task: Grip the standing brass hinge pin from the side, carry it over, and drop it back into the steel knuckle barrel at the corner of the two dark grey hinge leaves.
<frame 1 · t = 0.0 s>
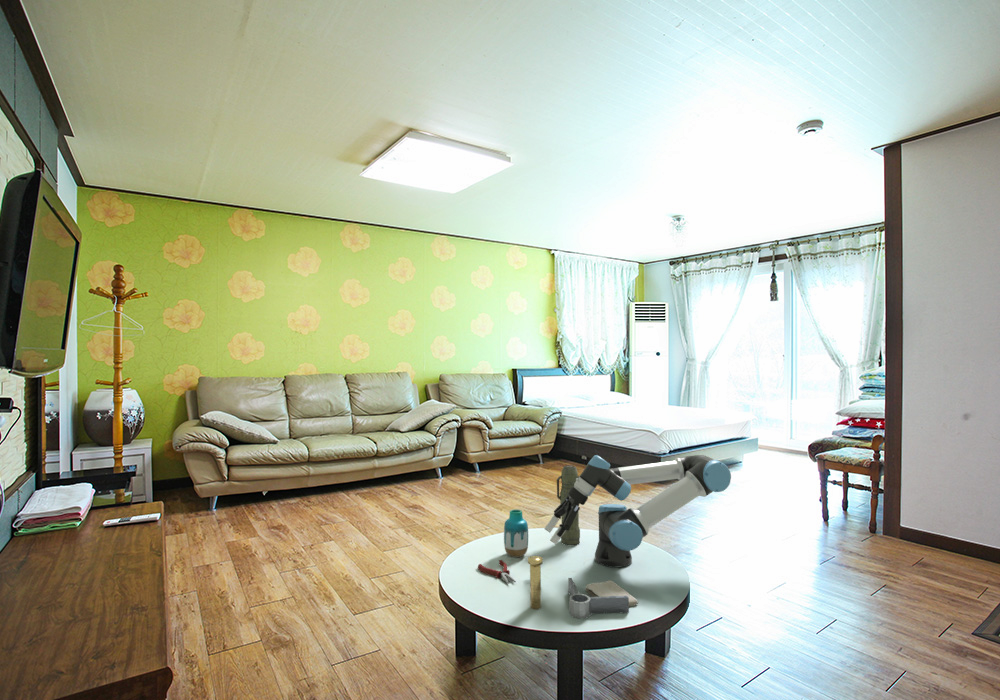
hand: (549, 536, 202), 15 cm above the table, tool tilted 35°, fingers open, 13 cm apart
hinge: (580, 613, 171), on the table
pliers: (495, 576, 203), on the table
vase: (516, 556, 223), on the table
thermos: (570, 542, 239), on the table
washcloth: (610, 599, 183), on the table
hinge pin: (535, 606, 176), on the table
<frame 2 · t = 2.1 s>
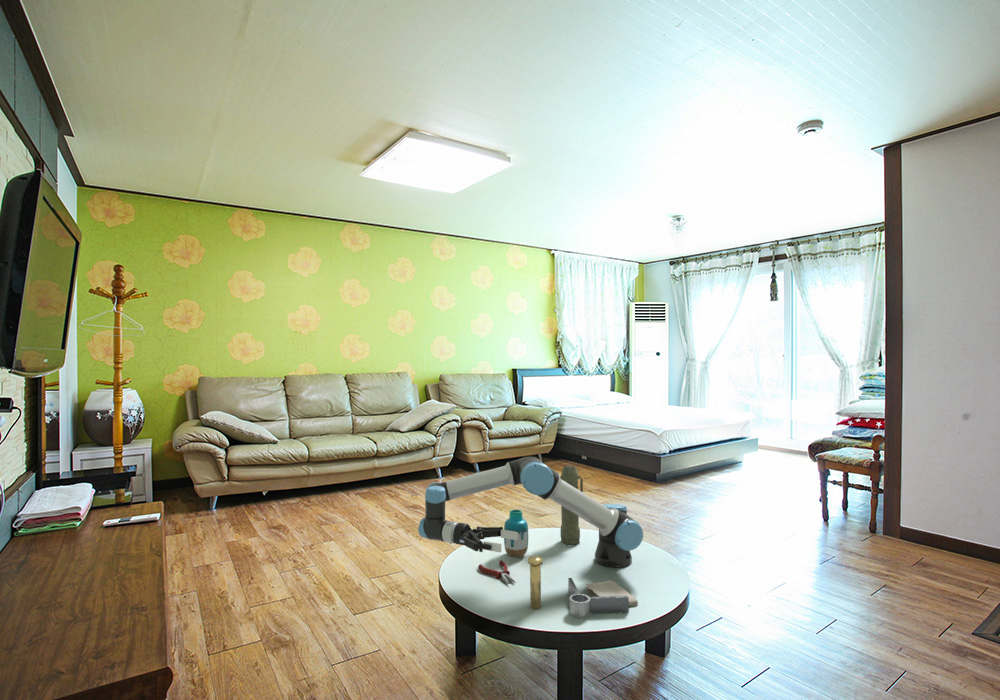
hand: (509, 542, 181), 20 cm above the table, tool horizontal, fingers open, 13 cm apart
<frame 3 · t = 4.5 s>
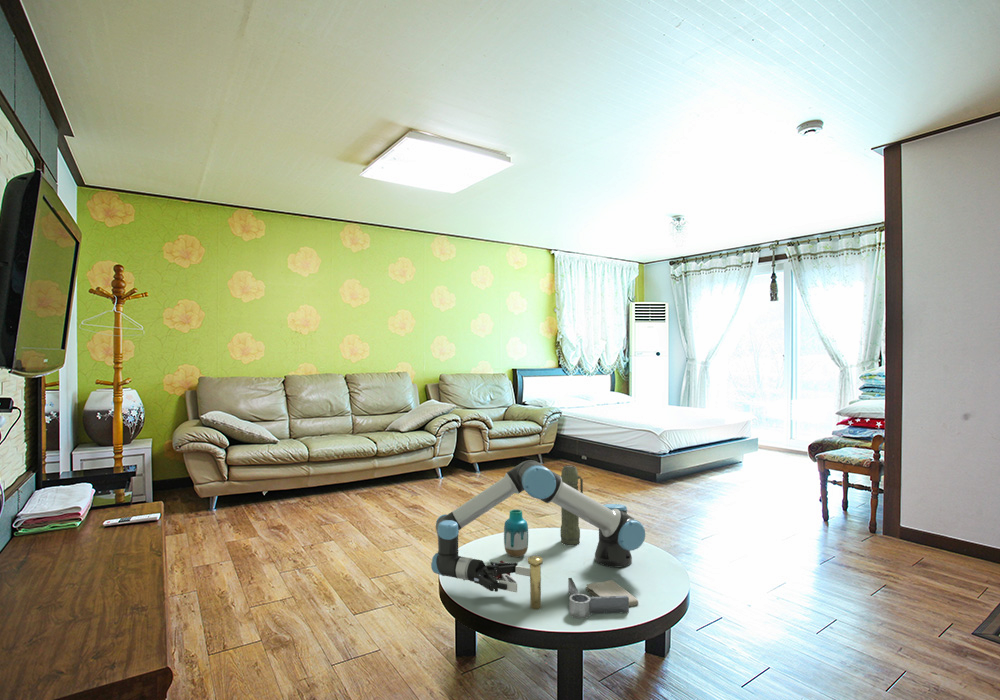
hand: (525, 580, 178), 9 cm above the table, tool horizontal, fingers open, 13 cm apart
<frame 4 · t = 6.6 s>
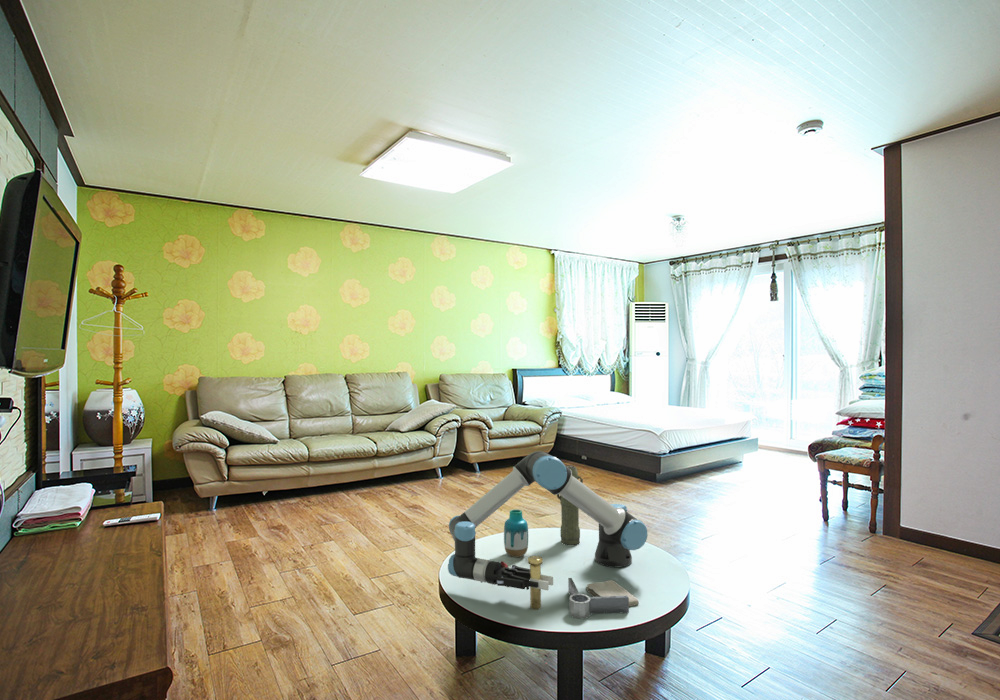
hand: (550, 583, 174), 9 cm above the table, tool horizontal, fingers closed on hinge pin, 3 cm apart
hinge pin: (535, 606, 176), on the table, touching gripper
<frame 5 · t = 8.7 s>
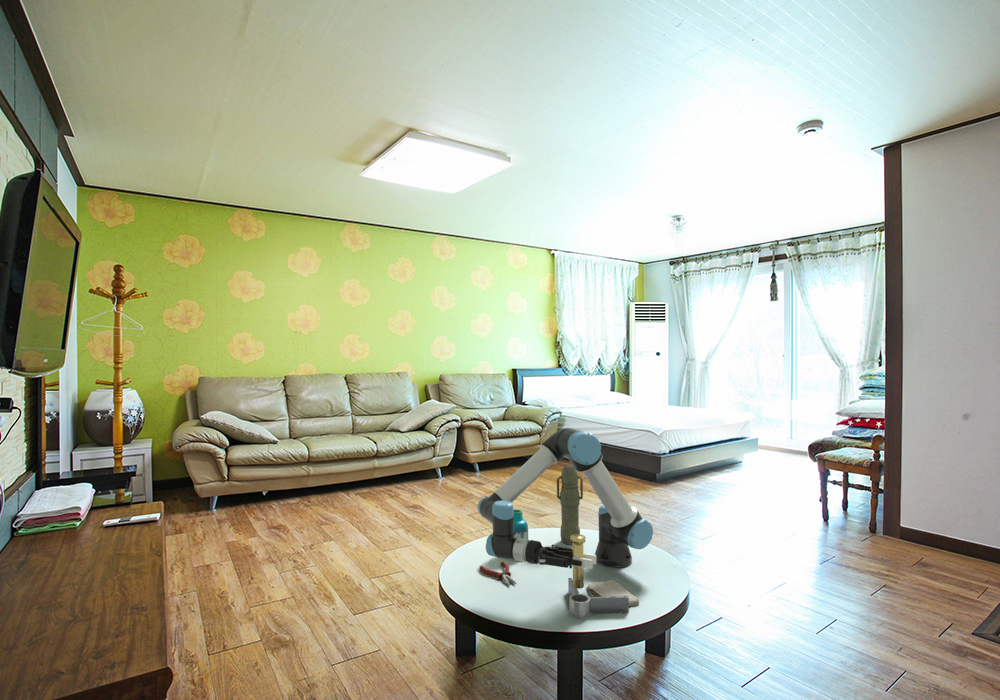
hand: (594, 562, 169), 18 cm above the table, tool horizontal, fingers closed on hinge pin, 3 cm apart
hinge pin: (578, 586, 172), point 9 cm above the table, touching gripper
when the fingers open (11 cm above the table, at t = 10.6 s): hinge pin drops 2 cm, resting in hinge.
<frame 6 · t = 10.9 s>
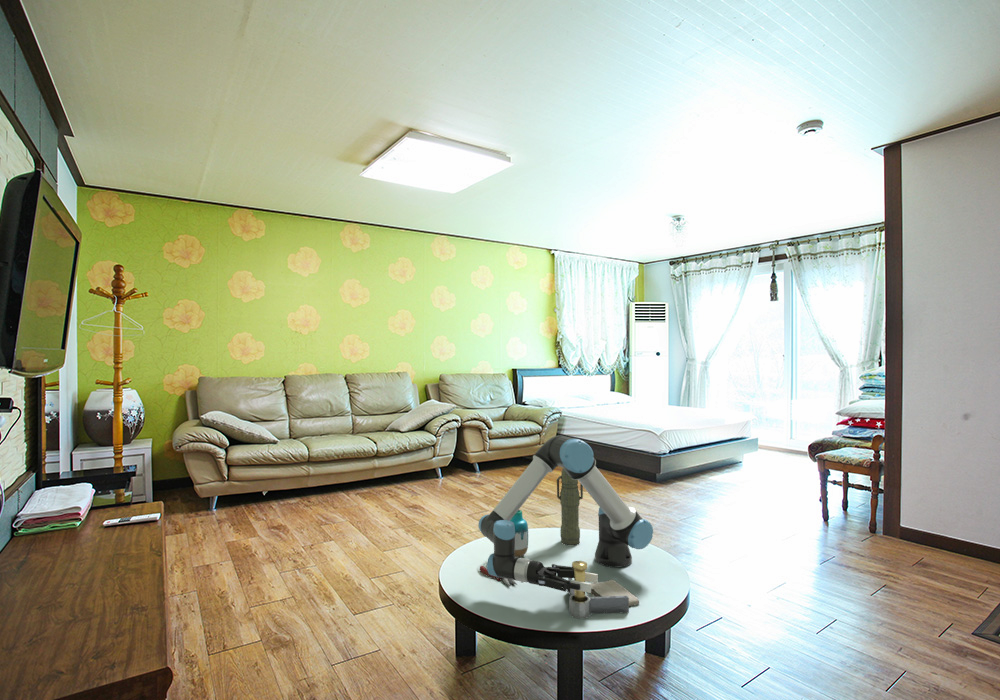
hand: (594, 583, 169), 11 cm above the table, tool horizontal, fingers open, 7 cm apart
hinge pin: (579, 613, 171), resting in hinge
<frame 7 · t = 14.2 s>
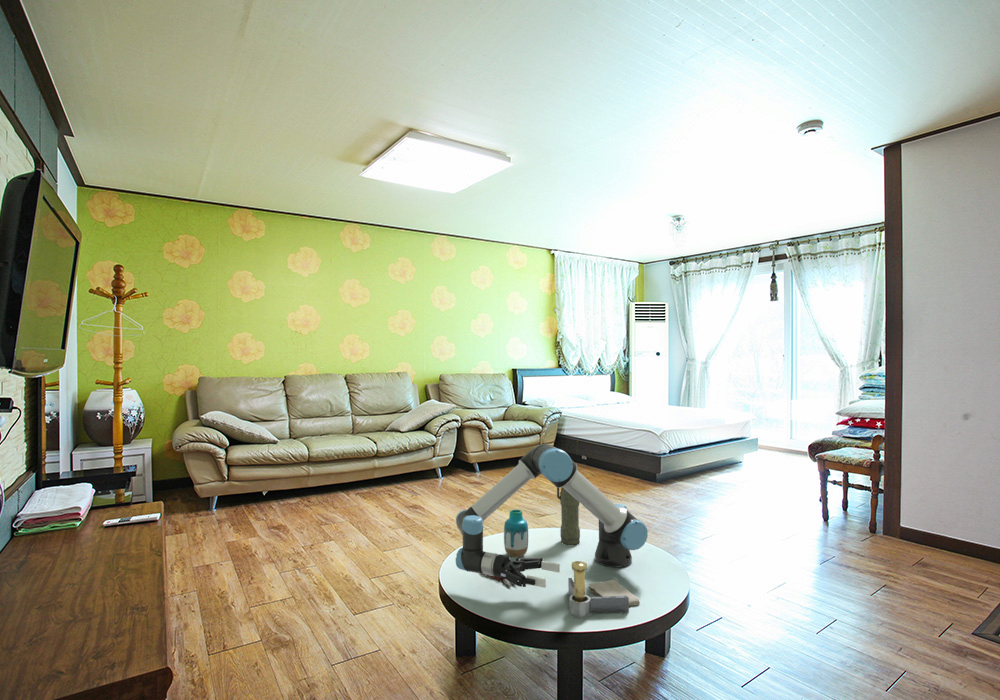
hand: (552, 575, 176), 11 cm above the table, tool horizontal, fingers open, 13 cm apart
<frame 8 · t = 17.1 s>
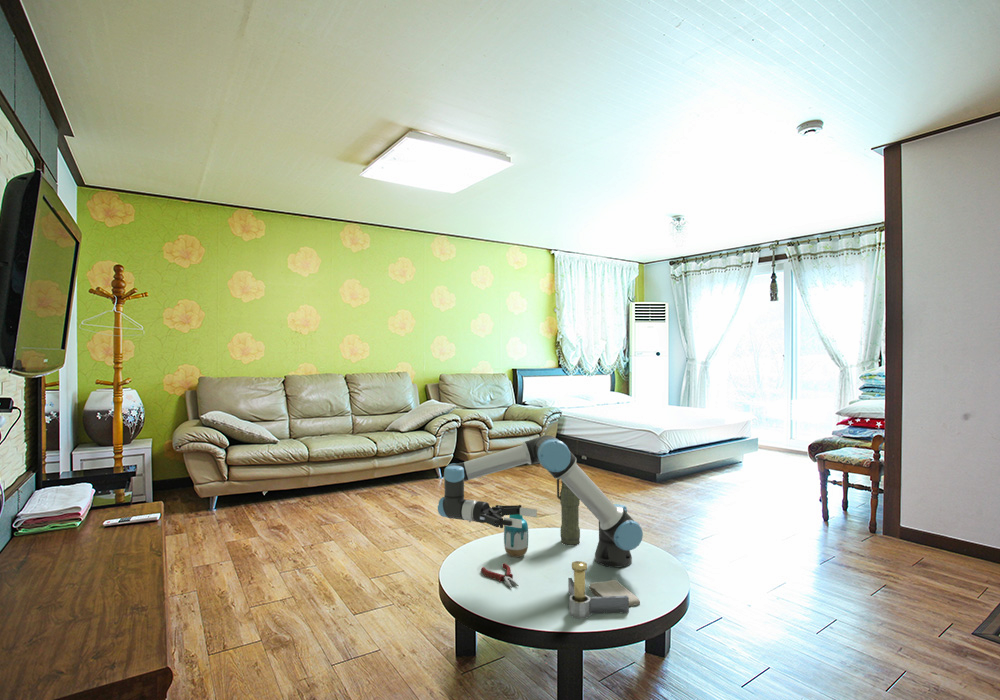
hand: (529, 518, 183), 28 cm above the table, tool horizontal, fingers open, 13 cm apart
at the end: hinge pin 0.1 cm off-centre on the hinge, point 0.0 cm above the hinge's base; hinge pin tilted 0°; the gripper is holding nothing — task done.
